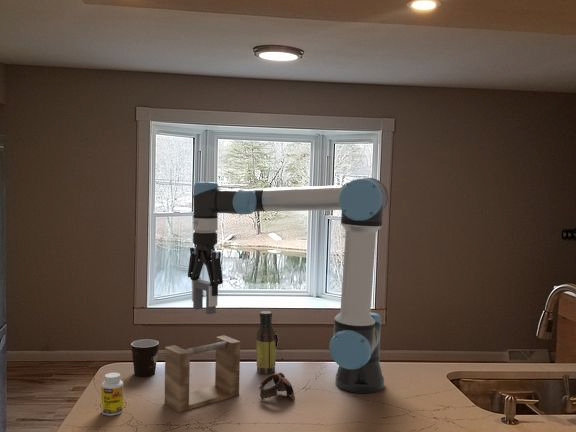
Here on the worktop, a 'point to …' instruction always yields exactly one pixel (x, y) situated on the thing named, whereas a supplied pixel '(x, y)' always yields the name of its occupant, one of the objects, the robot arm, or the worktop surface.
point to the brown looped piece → (276, 386)
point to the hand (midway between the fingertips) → (204, 303)
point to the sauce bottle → (265, 344)
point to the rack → (180, 369)
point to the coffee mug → (144, 357)
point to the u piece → (201, 296)
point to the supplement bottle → (112, 395)
